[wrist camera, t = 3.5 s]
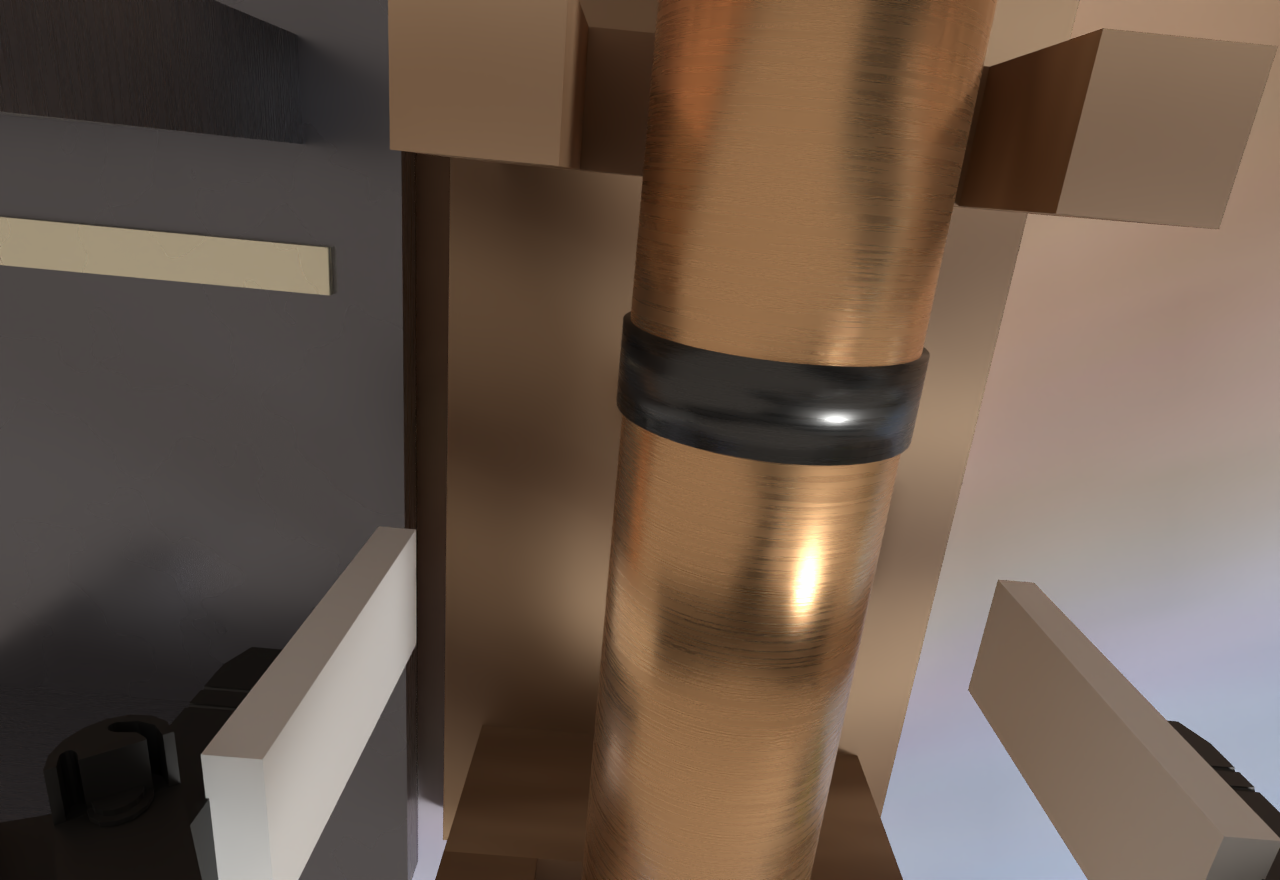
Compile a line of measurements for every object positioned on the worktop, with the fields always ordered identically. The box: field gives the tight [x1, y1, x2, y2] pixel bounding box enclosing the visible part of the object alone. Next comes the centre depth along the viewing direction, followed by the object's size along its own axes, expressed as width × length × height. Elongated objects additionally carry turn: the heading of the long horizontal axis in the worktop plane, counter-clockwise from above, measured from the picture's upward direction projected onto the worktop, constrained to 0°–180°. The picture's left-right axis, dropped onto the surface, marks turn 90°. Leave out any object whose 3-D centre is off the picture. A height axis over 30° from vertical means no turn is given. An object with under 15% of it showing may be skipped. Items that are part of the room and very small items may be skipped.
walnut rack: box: [388, 0, 1278, 880], centre depth 15 cm, size 22×12×8 cm, turn 175°
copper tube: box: [582, 0, 997, 880], centre depth 12 cm, size 24×4×4 cm, turn 175°
